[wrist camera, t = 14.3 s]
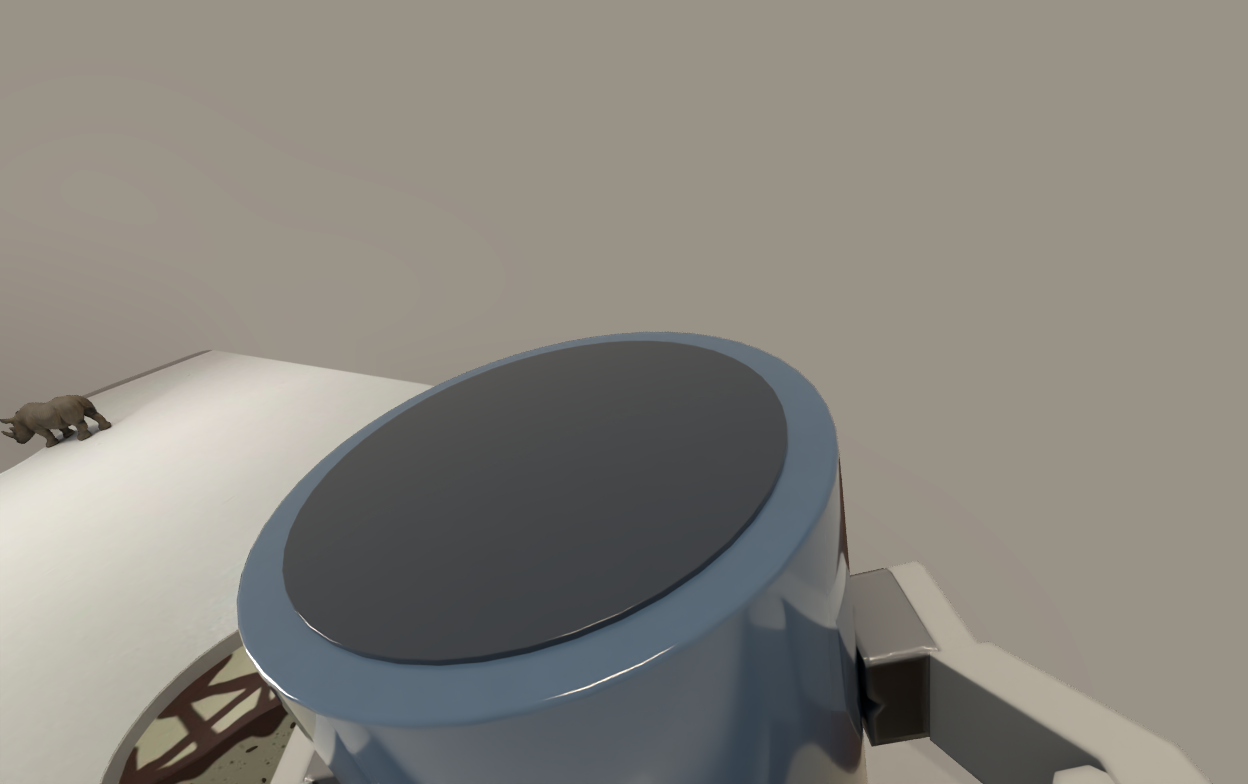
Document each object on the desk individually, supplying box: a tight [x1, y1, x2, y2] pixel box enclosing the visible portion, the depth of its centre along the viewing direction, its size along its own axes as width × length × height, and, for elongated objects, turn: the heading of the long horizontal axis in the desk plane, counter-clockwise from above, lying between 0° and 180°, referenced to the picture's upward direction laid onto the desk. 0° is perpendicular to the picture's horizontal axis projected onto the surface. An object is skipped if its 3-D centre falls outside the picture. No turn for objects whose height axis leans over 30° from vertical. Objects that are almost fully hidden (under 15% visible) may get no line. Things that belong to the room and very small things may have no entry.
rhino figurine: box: [0, 395, 111, 447], centre depth 85 cm, size 4×14×6 cm, turn 91°
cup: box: [237, 332, 868, 784], centre depth 10 cm, size 7×7×10 cm
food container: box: [99, 630, 296, 784], centre depth 29 cm, size 12×6×10 cm, turn 120°
